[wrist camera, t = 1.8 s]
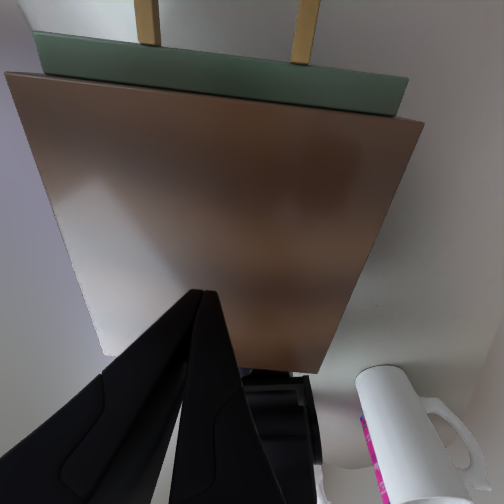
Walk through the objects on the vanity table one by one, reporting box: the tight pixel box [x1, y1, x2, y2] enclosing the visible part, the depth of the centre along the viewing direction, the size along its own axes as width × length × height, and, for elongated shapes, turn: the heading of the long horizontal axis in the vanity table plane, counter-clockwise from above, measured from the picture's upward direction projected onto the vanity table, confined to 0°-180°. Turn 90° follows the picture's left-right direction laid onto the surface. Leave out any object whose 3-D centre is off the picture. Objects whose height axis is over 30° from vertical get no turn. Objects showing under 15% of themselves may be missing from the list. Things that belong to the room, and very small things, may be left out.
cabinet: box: [4, 72, 424, 374], centre depth 16 cm, size 15×14×9 cm
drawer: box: [32, 0, 409, 117], centre depth 13 cm, size 19×13×8 cm, turn 174°
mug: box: [355, 365, 492, 504], centre depth 27 cm, size 10×7×12 cm, turn 101°
